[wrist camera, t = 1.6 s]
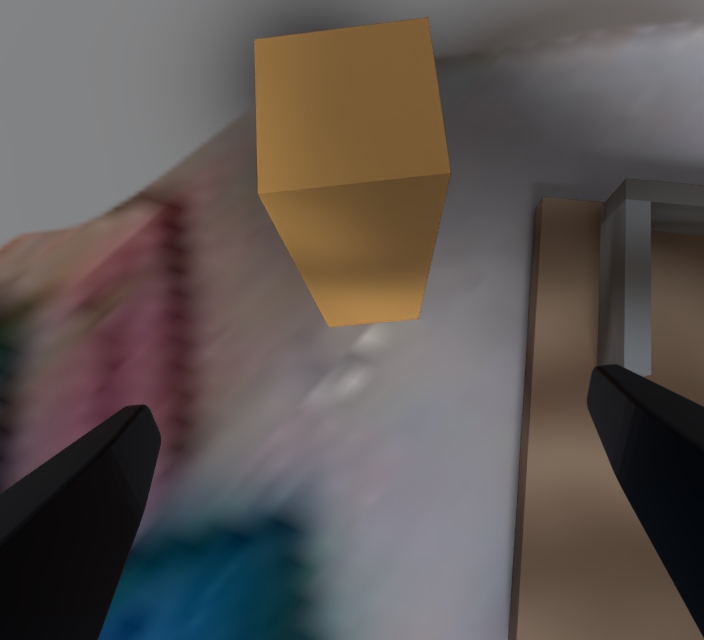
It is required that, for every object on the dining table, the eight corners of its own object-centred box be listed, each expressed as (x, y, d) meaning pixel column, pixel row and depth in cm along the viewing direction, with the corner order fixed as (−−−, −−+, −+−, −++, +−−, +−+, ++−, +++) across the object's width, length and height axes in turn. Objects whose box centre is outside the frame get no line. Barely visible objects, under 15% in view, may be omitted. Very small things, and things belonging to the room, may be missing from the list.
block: (418, 318, 23) (450, 172, 11) (328, 327, 23) (257, 193, 11) (408, 236, 24) (428, 17, 12) (323, 245, 25) (254, 39, 12)
